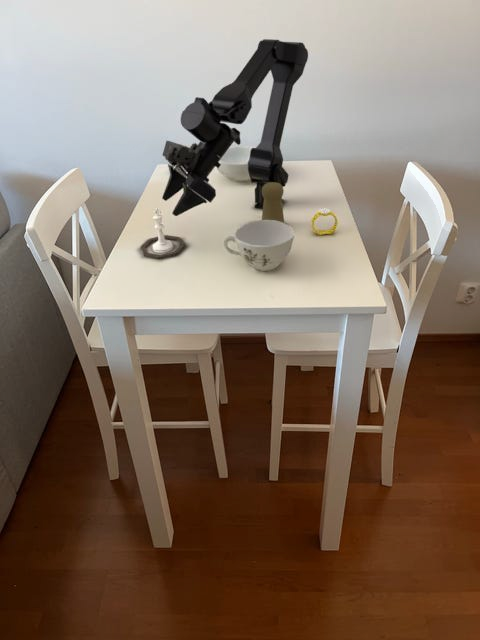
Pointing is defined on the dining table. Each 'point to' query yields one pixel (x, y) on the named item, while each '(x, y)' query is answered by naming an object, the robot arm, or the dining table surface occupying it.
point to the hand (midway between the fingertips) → (168, 207)
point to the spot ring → (162, 254)
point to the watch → (324, 213)
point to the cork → (272, 202)
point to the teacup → (262, 243)
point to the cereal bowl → (236, 163)
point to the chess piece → (160, 236)
